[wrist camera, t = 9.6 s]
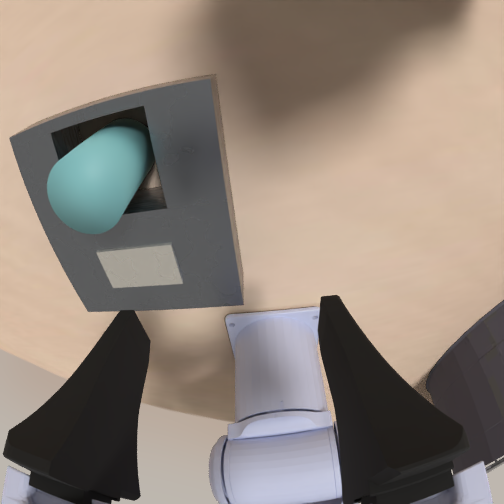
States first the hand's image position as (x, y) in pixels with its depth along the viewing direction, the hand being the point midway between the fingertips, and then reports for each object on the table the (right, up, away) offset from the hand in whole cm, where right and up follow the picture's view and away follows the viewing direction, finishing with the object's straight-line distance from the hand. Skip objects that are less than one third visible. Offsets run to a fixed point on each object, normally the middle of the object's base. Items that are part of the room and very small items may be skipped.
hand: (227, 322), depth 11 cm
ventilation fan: (+41, -12, +23) cm, 48 cm away
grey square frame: (-6, +6, +7) cm, 11 cm away
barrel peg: (-7, +9, +5) cm, 12 cm away
